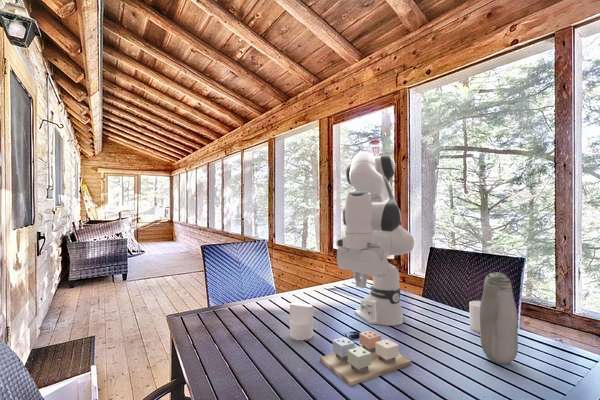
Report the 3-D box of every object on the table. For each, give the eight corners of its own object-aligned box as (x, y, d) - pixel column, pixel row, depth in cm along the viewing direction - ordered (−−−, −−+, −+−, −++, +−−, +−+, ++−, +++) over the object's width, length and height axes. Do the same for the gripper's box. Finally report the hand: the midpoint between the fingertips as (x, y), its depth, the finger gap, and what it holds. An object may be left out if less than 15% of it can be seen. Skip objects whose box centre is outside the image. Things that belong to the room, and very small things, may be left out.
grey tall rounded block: (519, 372, 92) (517, 278, 92) (480, 363, 97) (478, 274, 98) (517, 358, 100) (515, 271, 101) (481, 350, 106) (479, 268, 106)
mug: (501, 339, 115) (500, 311, 115) (476, 337, 117) (476, 309, 117) (489, 326, 126) (488, 301, 127) (467, 325, 128) (466, 300, 128)
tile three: (332, 350, 101) (332, 339, 101) (345, 347, 103) (345, 336, 103) (341, 357, 96) (341, 345, 96) (354, 353, 99) (354, 342, 99)
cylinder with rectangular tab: (316, 333, 122) (316, 302, 122) (307, 342, 114) (307, 309, 114) (296, 329, 126) (295, 299, 126) (285, 338, 117) (285, 306, 118)
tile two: (347, 361, 94) (347, 349, 94) (360, 357, 96) (360, 346, 96) (358, 369, 89) (358, 356, 89) (371, 365, 92) (371, 352, 92)
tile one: (375, 353, 99) (375, 341, 99) (387, 349, 101) (387, 338, 101) (386, 360, 94) (386, 348, 94) (398, 356, 97) (398, 344, 97)
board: (320, 360, 100) (319, 349, 100) (376, 344, 111) (376, 334, 111) (350, 386, 86) (350, 373, 86) (411, 364, 97) (411, 352, 97)
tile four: (359, 343, 106) (359, 332, 106) (370, 340, 108) (370, 329, 108) (369, 349, 101) (369, 338, 101) (380, 345, 104) (380, 335, 104)
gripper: (391, 243, 89) (393, 292, 88) (348, 240, 107) (349, 280, 106) (374, 245, 86) (376, 295, 85) (333, 240, 104) (334, 282, 103)
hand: (361, 287), depth 96 cm, fingers closed
